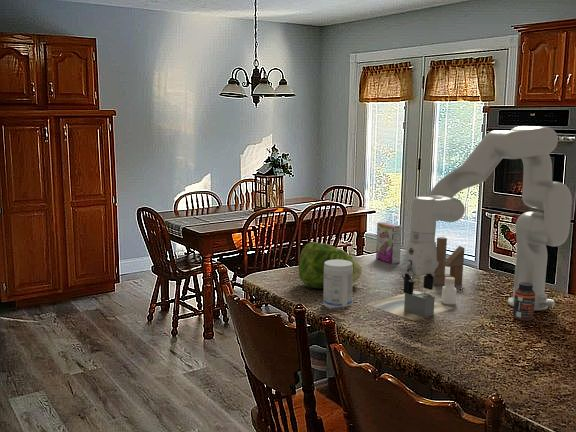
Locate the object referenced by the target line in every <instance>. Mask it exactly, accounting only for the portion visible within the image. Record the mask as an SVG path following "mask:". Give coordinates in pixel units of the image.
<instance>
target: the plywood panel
mask: <svg viewBox="0 0 576 432" xmlns="http://www.w3.org/2000/svg"><path fill="white" fill-rule="evenodd" d="M404 302H405V293H402V294H399V295H395V296H392V297H387V298H384V299H380V300H375V301H372V302H369V303H366V304H365V305H366V306H369V307H372V308H375V309H378V310H380V311H383V312H387V313H389V314H392V315H396V316H399V317H402V318H405V319H408V320H411V321H413V322H417V321H419V320H422V319H425V318H424V317H421V316H418V315H415V314H412V313H409V312H406V311H404ZM454 309H455V308H454V307H451V306H447V305H446V304H441V303H438V302H435V301H434V315H433V316H435V315H438V314H442V313H444V312H447V311H450V310H454Z"/></svg>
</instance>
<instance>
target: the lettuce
mask: <svg viewBox="0 0 576 432" xmlns="http://www.w3.org/2000/svg"><path fill="white" fill-rule="evenodd" d="M336 259H338V260H347V261H350V262H352V263H353V283H354V282H356V281H358V280H359V278H360V277H361V276H362V273H363V272H362V270H363V269H362V265H361V264H360V263H359V261H357V260H356V259H355V258H353V256H351V255H350V254H349V253H348V252H346V251H344V250H343V249H340V248H338V247H335V246H333V245H332V244H328V243H325V242H323V243H322V242H317V241H316V242H315V241H311V242H309V243H307V244H305V245H304V247H303V248H302V249H301V253H300V256H299V260H298V277H299V279H300V281H301V282H302V283H303V284H304V285H305V286H306V287H310V288H311V289H323V288H324V262H325V261H328V260H336Z"/></svg>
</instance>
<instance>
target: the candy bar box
mask: <svg viewBox="0 0 576 432" xmlns="http://www.w3.org/2000/svg"><path fill="white" fill-rule="evenodd" d="M402 227H403V226H401V225H398V224H394V223H390V222H387V221H382V222H381V221H380V222H377V226H376V247H375V249H376V250H375V251H376V252H375V259H377V260H380V261H383V262H386V263H388V264H390V265H395V264H399V263H401V250H402V249H401V247H402V246H401V245H402V229H403V228H402Z"/></svg>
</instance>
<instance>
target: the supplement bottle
mask: <svg viewBox="0 0 576 432" xmlns="http://www.w3.org/2000/svg"><path fill="white" fill-rule="evenodd" d="M532 289H533V284H531V283H527V282H520V283H519V288H518V289H516V291H515V297H514V307H513V309H512V310H513V311H512V317H513V318H514V319H515V320H516V321H521V322H531V321H532V320H533V319H534V313H535V312H534V304H535V292H534V291H533V290H532Z"/></svg>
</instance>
